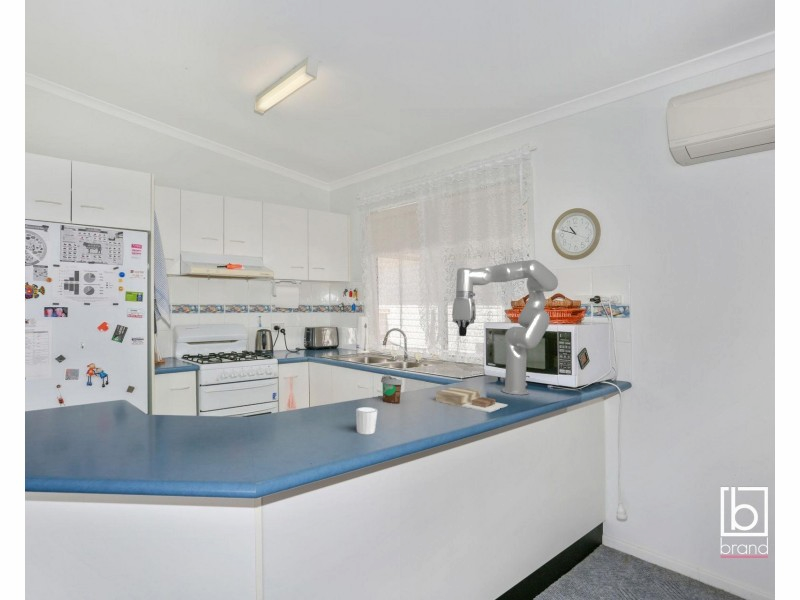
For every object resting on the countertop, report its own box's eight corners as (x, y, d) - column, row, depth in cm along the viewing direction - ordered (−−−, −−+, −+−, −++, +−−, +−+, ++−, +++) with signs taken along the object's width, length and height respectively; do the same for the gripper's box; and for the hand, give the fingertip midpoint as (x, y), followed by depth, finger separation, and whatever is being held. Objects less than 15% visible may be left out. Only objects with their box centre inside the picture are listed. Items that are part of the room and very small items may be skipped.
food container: (375, 398, 186) (376, 374, 186) (388, 397, 188) (389, 374, 188) (387, 405, 174) (388, 380, 174) (401, 404, 177) (402, 379, 177)
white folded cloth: (480, 400, 190) (480, 399, 190) (507, 405, 183) (507, 404, 183) (461, 406, 178) (461, 405, 178) (489, 412, 170) (489, 411, 170)
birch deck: (455, 395, 198) (456, 386, 198) (479, 400, 191) (479, 391, 191) (435, 401, 186) (436, 391, 186) (460, 406, 178) (460, 396, 178)
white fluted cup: (379, 429, 141) (380, 408, 141) (372, 436, 134) (373, 413, 134) (359, 427, 143) (360, 405, 143) (351, 433, 136) (352, 410, 136)
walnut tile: (495, 399, 182) (495, 404, 182) (482, 396, 186) (482, 401, 186) (485, 402, 175) (484, 407, 175) (471, 400, 179) (471, 405, 179)
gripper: (483, 296, 198) (481, 337, 198) (454, 295, 207) (452, 334, 207) (474, 295, 192) (473, 337, 192) (445, 294, 201) (444, 334, 201)
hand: (462, 335), depth 199 cm, fingers closed
